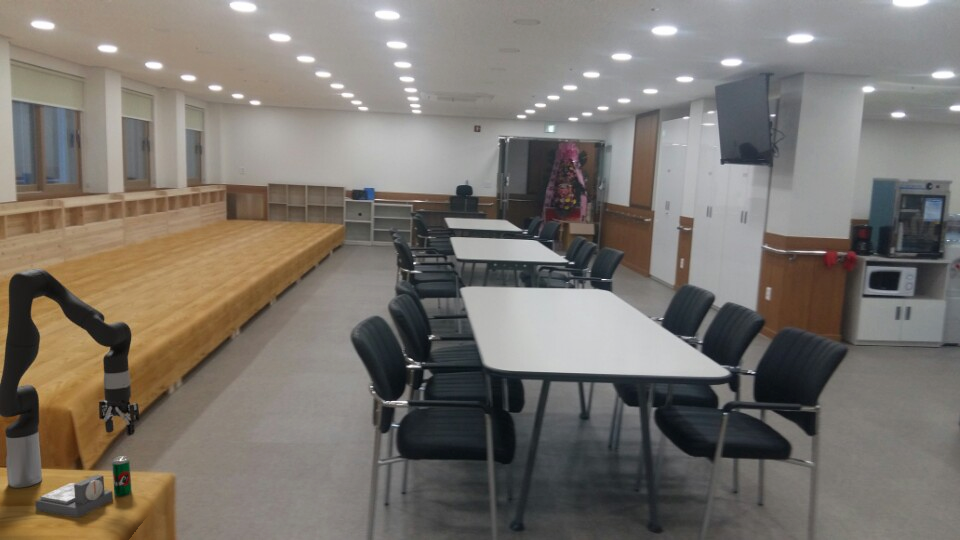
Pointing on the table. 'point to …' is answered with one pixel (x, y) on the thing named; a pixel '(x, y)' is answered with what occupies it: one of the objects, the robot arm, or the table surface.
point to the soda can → (121, 476)
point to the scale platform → (61, 495)
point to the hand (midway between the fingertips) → (120, 433)
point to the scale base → (80, 498)
